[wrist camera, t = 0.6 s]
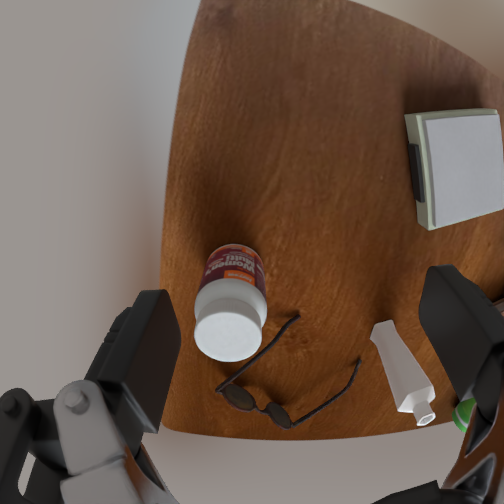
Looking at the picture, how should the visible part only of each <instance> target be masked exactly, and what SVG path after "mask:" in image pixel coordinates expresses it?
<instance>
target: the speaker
mask: <svg viewBox="0 0 504 504" xmlns="http://www.w3.org/2000/svg"><path fill="white" fill-rule="evenodd" d="M475 403H476V401H475V399H474V397H473V398H470V399H467V400H465V401H462V402H460V403H459V404H458V405H457V406H456V408H455V409H454V411H453V412H452V418H453V421H454V422H455V424H456V426H457V427H458V428H459V429H460V430H461V431H463V432H466V430H467V427H468V423H469V419H470V415H471V411H472V408H473V406H474V404H475Z"/></svg>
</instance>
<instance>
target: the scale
mask: <svg viewBox="0 0 504 504" xmlns="http://www.w3.org/2000/svg"><path fill="white" fill-rule="evenodd" d="M404 116H405V122H406V127H407V133H408V139H409V144H408V151H409V158H410V165H411V173H412V182H413V191H414V199H415V200H416V205H417V220H418V223H419V224H420V225H422V226H423V227H425V228H426V229H427V230H432V229H436V228H440V227H443V226H447V225H450V224H454V223H457V222H461V221H464V220H467V219H471V218H474V217H478V216H481V215H485V214H488V213H491V212H495V211H498V210H501V209H503V208H504V164H503V147H502V136H501V127H500V119H499V114H497V110H496V109H486V108H477V109H458V110H444V111H433V112H423V113H413V114H405V115H404Z"/></svg>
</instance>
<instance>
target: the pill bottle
mask: <svg viewBox="0 0 504 504" xmlns="http://www.w3.org/2000/svg"><path fill="white" fill-rule="evenodd" d="M266 315H267V303H266V289H265V277H264V267H263V263H262V260H261V259H260V257H259V256H258V254H257V253H256V252H255V251H254V250H252V249H251V248H249V247H247V246H244V245H240V244H228V245H224V246H222V247H220V248H218V249H216V250H215V251H214V252H213V253H212V254H211V255H210V257H209V259H208V261H207V263H206V266H205V270H204V273H203V276H202V280H201V284H200V287H199V291H198V294H197V297H196V301H195V317H196V320H197V321H196V326H195V331H194V337H195V341H196V344H197V346H198V347H199V349H200V350H201V351H202V352H203V353H205V354H206V355H207V356H209V357H211V358H213V359H216V360H219V361H225V362H235V361H240V360H243V359H246V358H248V357H250V356H251V355H253V354H254V353H255V352H256V351H257V349H258V348H259V346H260V344H261V340H262V327H263V325H264V323H265V320H266Z"/></svg>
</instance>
